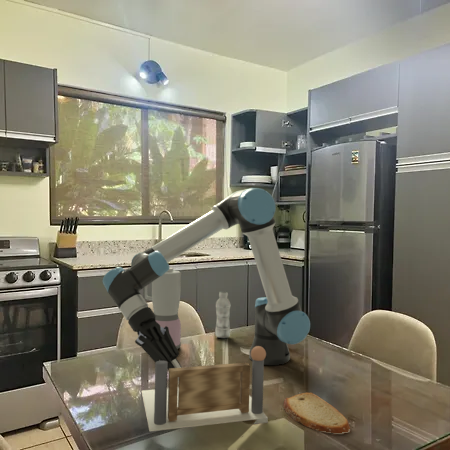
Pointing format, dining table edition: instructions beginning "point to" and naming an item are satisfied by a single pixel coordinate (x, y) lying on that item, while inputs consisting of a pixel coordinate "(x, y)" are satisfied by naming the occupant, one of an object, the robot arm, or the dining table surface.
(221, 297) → the plastic bottle
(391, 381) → the dining table surface
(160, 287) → the blender
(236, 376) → the gate
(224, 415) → the gate frame
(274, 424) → the dining table surface
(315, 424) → the slice of bread
